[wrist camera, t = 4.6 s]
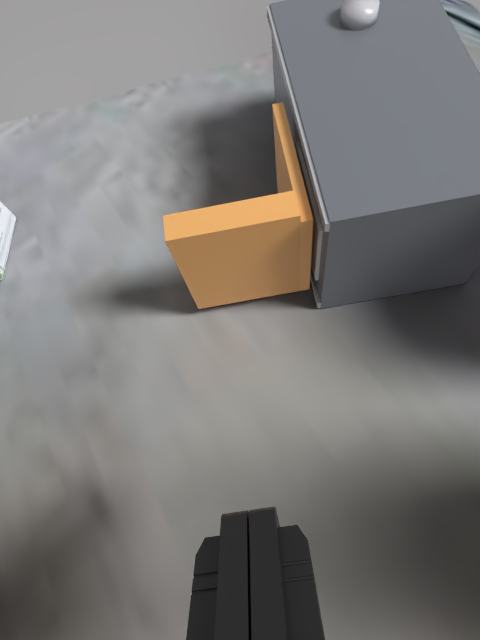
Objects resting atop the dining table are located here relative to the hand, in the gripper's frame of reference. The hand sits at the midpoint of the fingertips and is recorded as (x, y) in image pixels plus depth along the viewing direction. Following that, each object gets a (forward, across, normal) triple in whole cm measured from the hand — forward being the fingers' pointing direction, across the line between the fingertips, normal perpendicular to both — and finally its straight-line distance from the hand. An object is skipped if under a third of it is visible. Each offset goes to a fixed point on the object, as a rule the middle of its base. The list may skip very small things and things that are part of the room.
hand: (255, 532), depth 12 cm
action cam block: (+22, +9, +5) cm, 25 cm away
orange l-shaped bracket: (+19, +1, +4) cm, 20 cm away
